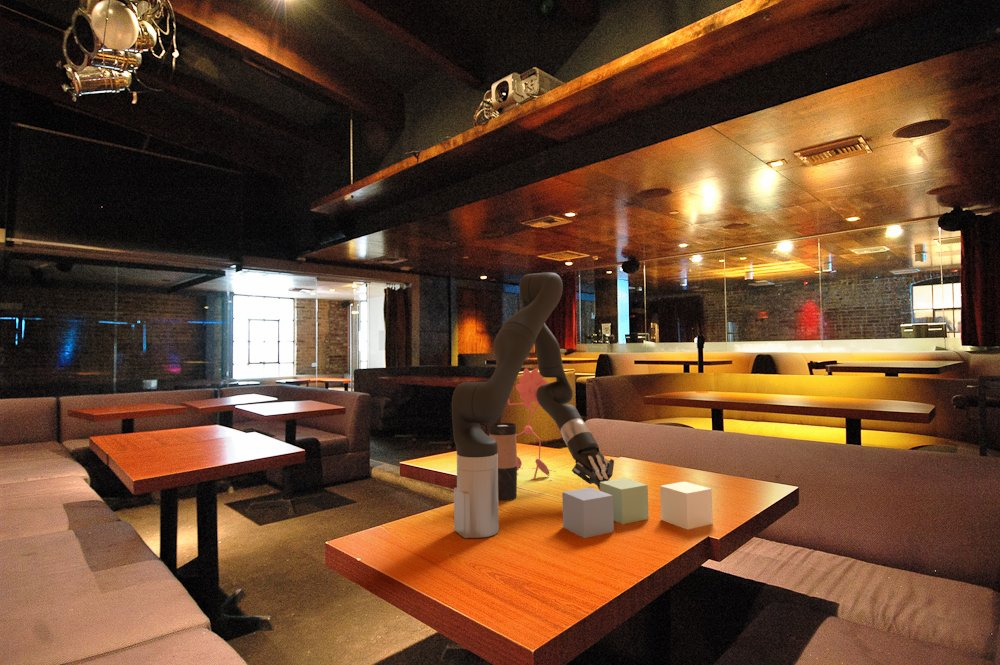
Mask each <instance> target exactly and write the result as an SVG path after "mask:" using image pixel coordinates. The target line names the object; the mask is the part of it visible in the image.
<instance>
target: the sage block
mask: <svg viewBox="0 0 1000 665" xmlns="http://www.w3.org/2000/svg"><path fill="white" fill-rule="evenodd" d="M648 486H649V485H648V484H645V483H643V482H640V481H635V480H632V479H629V478H626V477H623V478H616V479H611V480H610V479H609V481H604V482H600V490H599V491H602V492H605V493H608V494H610V495H613V519H614V522H616V523H618V524H621V525H626V524H630V523H634V522H639V521H644V520H649V488H648Z"/></svg>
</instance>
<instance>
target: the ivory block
mask: <svg viewBox="0 0 1000 665" xmlns="http://www.w3.org/2000/svg"><path fill="white" fill-rule="evenodd" d="M659 491H660V492H659V493H660V494H659V495H660V499H659V500H660V521H664V522H666V523H669V524H672V525H674V526H677V527H679V528H682V529H685V530H688V531H689V530H692V529H696V528H700V527H705V526H709V525H713V523H714V521H713V520H714V518H713V499H712V498H713V495H712V494H713V492H712V491H713V490H712V488H710V487H706V486H702V485H698V484H696V483H691V482H688V481H679V482H674V483H668V484H663V485H659Z"/></svg>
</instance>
